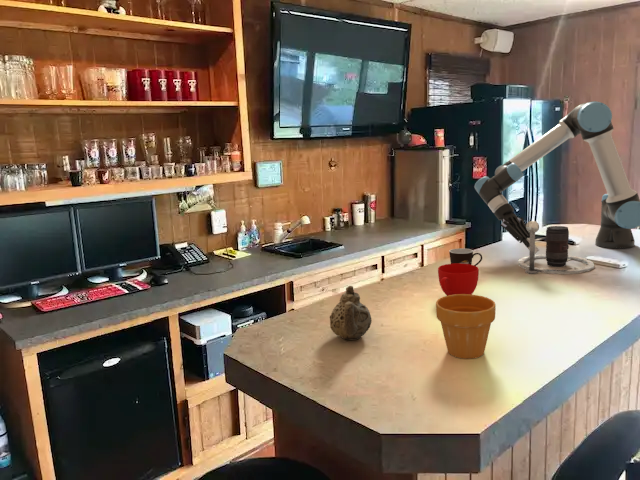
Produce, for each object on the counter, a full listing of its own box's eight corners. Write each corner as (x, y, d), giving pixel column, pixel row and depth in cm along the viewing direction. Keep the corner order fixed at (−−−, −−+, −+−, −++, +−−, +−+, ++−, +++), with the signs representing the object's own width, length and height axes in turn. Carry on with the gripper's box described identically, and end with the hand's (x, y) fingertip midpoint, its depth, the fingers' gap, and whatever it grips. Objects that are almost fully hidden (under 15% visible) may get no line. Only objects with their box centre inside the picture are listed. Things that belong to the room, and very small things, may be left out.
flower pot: (460, 368, 123) (460, 316, 121) (425, 348, 136) (424, 300, 134) (507, 355, 129) (508, 305, 126) (469, 337, 142) (469, 290, 139)
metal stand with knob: (533, 274, 196) (534, 222, 192) (522, 272, 199) (523, 221, 195) (550, 268, 202) (552, 218, 198) (540, 266, 206) (541, 217, 202)
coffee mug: (447, 279, 196) (447, 253, 194) (451, 273, 204) (451, 248, 202) (480, 280, 192) (480, 254, 190) (482, 274, 200) (482, 248, 198)
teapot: (330, 325, 156) (328, 276, 153) (369, 323, 156) (367, 274, 153) (330, 355, 135) (326, 299, 132) (375, 353, 135) (372, 297, 132)
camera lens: (563, 261, 211) (564, 225, 208) (570, 267, 203) (572, 228, 200) (542, 262, 212) (543, 225, 209) (549, 267, 204) (550, 229, 201)
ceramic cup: (424, 302, 172) (424, 272, 170) (450, 289, 184) (450, 261, 182) (460, 309, 163) (460, 278, 161) (485, 295, 175) (485, 266, 173)
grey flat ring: (573, 255, 220) (573, 252, 220) (607, 271, 194) (608, 269, 194) (508, 258, 221) (508, 256, 221) (534, 275, 194) (534, 273, 194)
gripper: (505, 211, 230) (539, 255, 219) (486, 215, 222) (520, 260, 212) (516, 200, 224) (551, 244, 214) (497, 204, 217) (532, 249, 207)
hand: (535, 252), depth 213 cm, fingers closed
